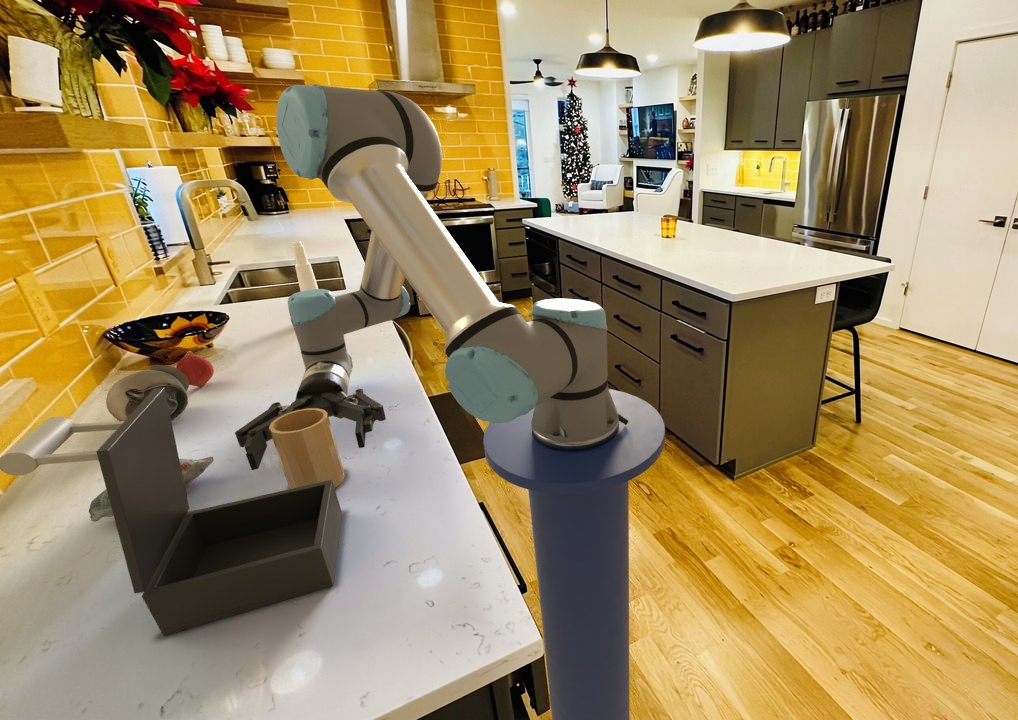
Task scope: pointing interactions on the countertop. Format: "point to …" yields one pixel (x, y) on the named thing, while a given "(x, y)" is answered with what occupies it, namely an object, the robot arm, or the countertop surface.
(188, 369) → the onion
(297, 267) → the cosmetic bottle
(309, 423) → the cup
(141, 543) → the lid
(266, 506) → the grey lidded box
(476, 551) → the countertop surface
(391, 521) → the countertop surface
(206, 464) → the packaged food
